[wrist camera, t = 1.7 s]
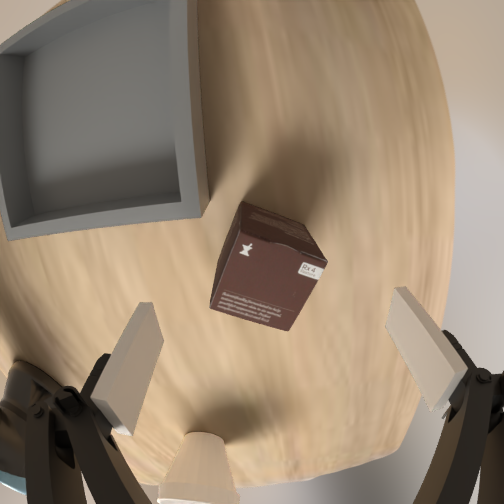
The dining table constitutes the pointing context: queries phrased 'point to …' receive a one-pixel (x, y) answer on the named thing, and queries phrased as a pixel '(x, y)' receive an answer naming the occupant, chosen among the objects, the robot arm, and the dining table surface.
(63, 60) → the bin
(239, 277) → the box
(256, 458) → the dining table surface
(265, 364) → the dining table surface
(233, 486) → the cup
